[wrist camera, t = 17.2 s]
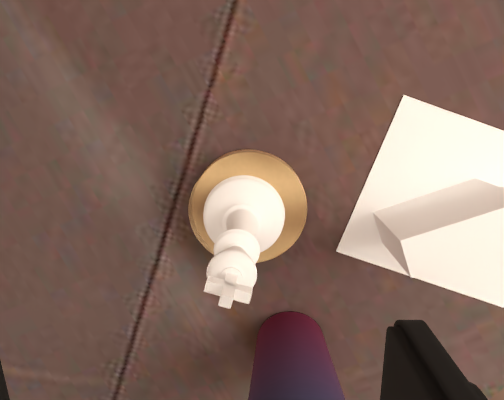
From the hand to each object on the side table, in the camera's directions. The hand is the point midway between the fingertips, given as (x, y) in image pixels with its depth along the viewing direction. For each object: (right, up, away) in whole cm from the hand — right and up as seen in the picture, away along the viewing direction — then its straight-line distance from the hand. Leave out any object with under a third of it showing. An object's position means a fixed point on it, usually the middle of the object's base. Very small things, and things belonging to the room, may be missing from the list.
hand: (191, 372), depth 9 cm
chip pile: (+1, +4, +16) cm, 17 cm away
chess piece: (+1, +3, +14) cm, 14 cm away
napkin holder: (+16, +3, +16) cm, 23 cm away
